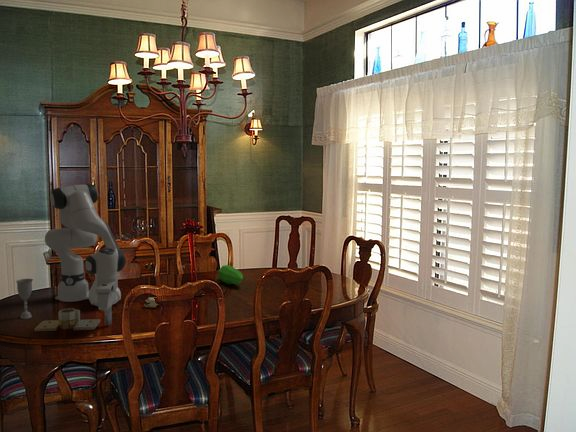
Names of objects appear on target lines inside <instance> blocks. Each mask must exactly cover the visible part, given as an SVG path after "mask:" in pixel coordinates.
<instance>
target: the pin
mask: <svg viewBox="0 0 576 432" xmlns="http://www.w3.org/2000/svg"><path fill="white" fill-rule="evenodd" d="M112 308H113V305H112V304H111V305H110V307H109V315H108V316H105V315H104V324H105V325H106V326H108V325H112V323H113V322H112V321H113V318H112V317H113V315H112V314H113V313H112V312H113V310H112Z"/></svg>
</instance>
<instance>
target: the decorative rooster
mask: <svg viewBox="0 0 576 432" xmlns="http://www.w3.org/2000/svg"><path fill="white" fill-rule="evenodd" d="M97 276H98V275H97V274H95V275H94V277H95V279H94V281H93V283H92V285H91V287H89V299H88V300H89V302H90V304H91V305H92V306H95V307H98V299H97V294H98V293H96V287H97ZM121 296H122V292H121V290H120V288H119V287H118V288H116V298H115V300H114V301H113V302H112V306H113V305H115V304H117V302H119V301H121V299H122V298H121Z"/></svg>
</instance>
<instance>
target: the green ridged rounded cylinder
mask: <svg viewBox="0 0 576 432" xmlns="http://www.w3.org/2000/svg"><path fill="white" fill-rule="evenodd" d="M243 278H244V277H243V273H242V272H241V271H240V270H238V269H236V268H235V267H234V266H232V265H229V264H225V265H222V266H221V268H220V269H218V279H219V280H220V281H222V282H224V284H227V285H239V284H241V282H243Z"/></svg>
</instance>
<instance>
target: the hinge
mask: <svg viewBox="0 0 576 432" xmlns="http://www.w3.org/2000/svg"><path fill="white" fill-rule="evenodd" d="M57 314H58V320H57V319H53V320H52V319H50V320H43V321H41V322H40V323H39V324H38V325H36V327H35V328H34V329H33V330H34V332H51V331H52V332H53V331H54V332H55V331H57V330H59V329H61V330H69V329H72V331H87V330H89V331H91V330H92V331H94V330H95V329H96V328H97V327H98V325H99V324H100V323H101V319H100V318H98V319H96V318H95V319H94V318H93V319H81V310H80V309H76V308H73V307H71V308H70V307H69V308H64V309H60V310H59V311H58V312H57Z"/></svg>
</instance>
